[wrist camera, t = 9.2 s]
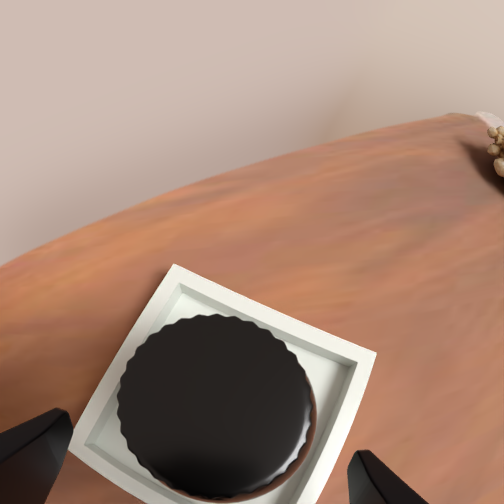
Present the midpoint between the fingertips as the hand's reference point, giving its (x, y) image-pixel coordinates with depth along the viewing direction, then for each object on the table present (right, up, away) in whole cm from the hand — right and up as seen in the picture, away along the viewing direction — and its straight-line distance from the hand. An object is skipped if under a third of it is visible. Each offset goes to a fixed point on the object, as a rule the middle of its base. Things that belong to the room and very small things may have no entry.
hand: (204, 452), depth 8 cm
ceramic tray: (0, -4, +10) cm, 10 cm away
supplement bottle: (0, -4, +9) cm, 10 cm away
